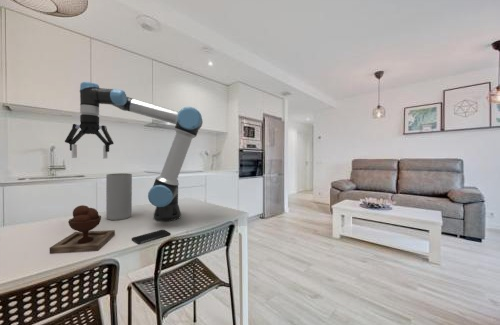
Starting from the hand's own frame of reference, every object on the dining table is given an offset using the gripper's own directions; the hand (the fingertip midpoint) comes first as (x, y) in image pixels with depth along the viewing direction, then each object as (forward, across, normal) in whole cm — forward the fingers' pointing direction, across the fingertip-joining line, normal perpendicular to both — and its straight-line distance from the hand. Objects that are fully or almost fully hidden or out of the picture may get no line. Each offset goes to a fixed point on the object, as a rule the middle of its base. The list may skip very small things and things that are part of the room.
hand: (90, 158), depth 106 cm
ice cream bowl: (+34, -8, +21) cm, 41 cm away
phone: (+35, -33, +18) cm, 52 cm away
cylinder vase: (+35, -8, -15) cm, 39 cm away
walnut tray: (+35, -8, +21) cm, 41 cm away
